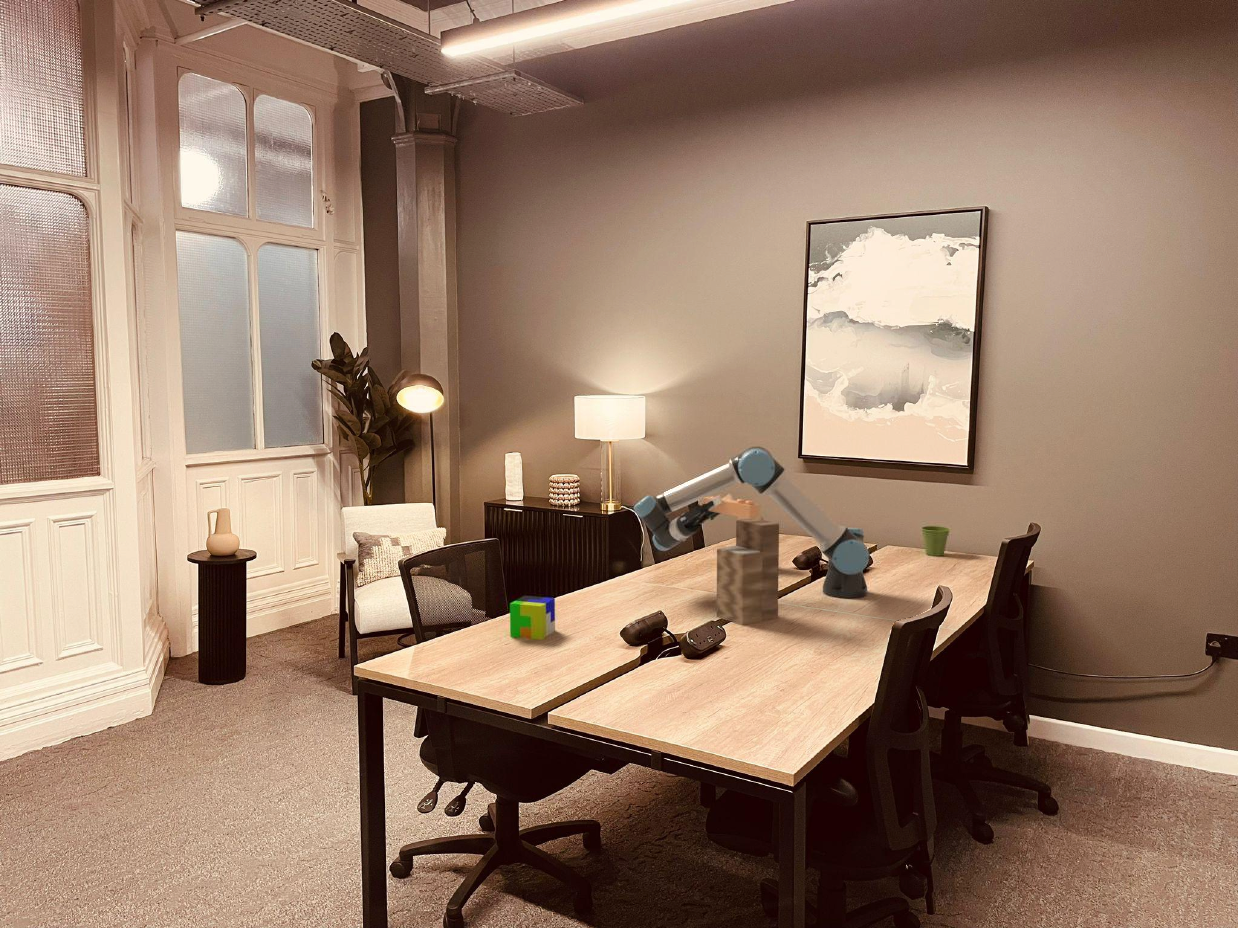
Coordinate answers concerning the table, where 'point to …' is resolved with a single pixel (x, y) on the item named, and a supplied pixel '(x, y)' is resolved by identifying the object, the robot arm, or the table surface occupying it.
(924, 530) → the plant pot
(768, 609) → the step stand
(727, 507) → the orange beam
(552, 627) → the puzzle toy
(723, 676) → the table surface
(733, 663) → the table surface
